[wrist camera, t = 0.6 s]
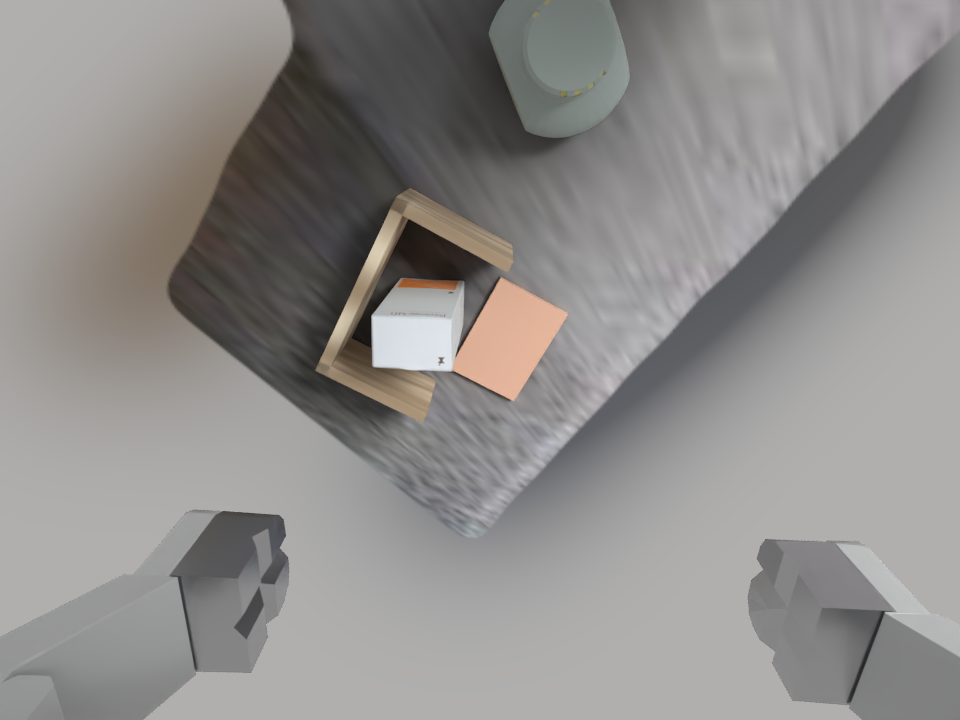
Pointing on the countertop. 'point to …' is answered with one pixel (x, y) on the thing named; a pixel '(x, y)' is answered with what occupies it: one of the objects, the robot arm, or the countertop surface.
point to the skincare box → (418, 325)
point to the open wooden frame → (342, 352)
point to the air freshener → (560, 62)
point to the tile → (508, 339)
